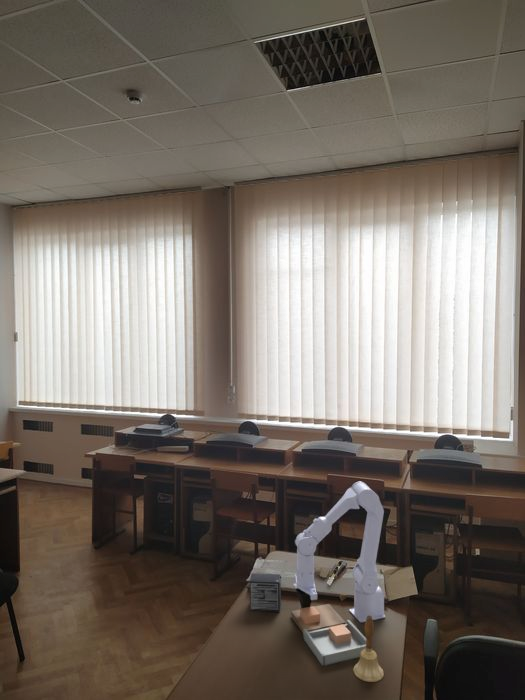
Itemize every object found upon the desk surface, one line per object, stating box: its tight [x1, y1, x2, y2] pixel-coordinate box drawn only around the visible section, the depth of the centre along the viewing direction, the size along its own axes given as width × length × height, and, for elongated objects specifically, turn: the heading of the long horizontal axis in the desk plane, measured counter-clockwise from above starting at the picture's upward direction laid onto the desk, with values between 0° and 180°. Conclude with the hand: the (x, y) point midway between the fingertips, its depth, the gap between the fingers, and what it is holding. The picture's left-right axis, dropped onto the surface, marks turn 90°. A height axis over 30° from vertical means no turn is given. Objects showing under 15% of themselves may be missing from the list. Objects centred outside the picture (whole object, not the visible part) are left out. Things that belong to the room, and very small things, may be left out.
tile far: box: [299, 605, 320, 624], centre depth 165 cm, size 5×5×2 cm
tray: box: [302, 619, 366, 667], centre depth 154 cm, size 16×14×3 cm
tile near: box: [329, 624, 351, 644], centre depth 158 cm, size 5×5×2 cm
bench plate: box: [290, 603, 347, 634], centre depth 167 cm, size 14×12×2 cm
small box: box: [249, 573, 282, 613], centre depth 177 cm, size 11×6×10 cm, turn 84°
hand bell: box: [353, 616, 384, 683], centre depth 142 cm, size 8×8×16 cm
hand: (305, 610), depth 169 cm, fingers closed
